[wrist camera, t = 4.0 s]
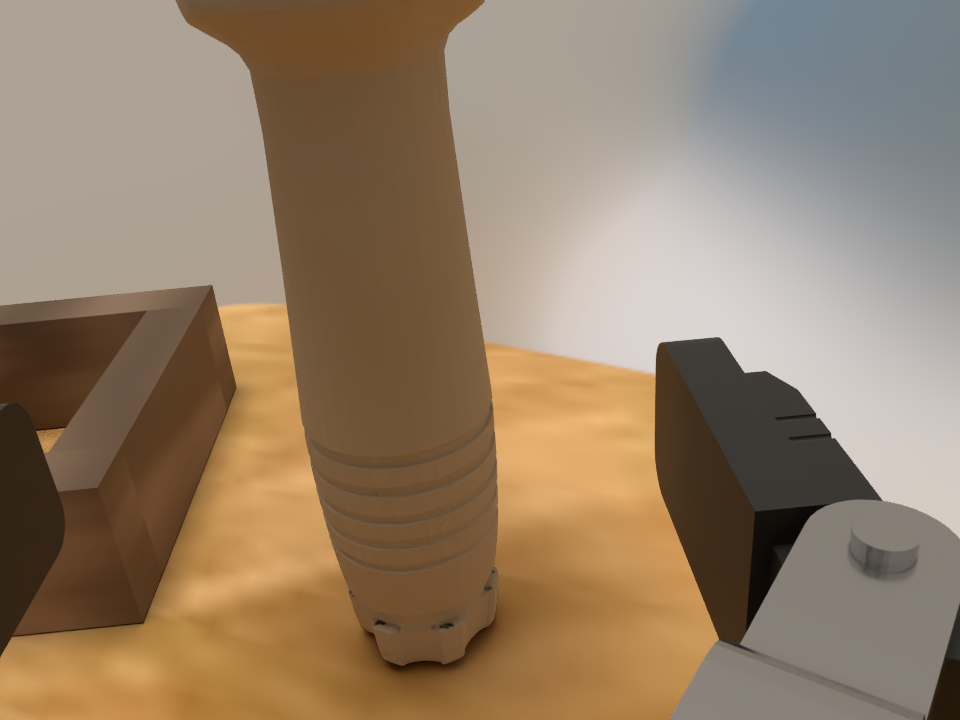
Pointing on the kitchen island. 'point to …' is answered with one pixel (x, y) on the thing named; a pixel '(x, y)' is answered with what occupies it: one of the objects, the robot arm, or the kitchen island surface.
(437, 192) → the handle
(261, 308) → the kitchen island surface
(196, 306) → the socket
